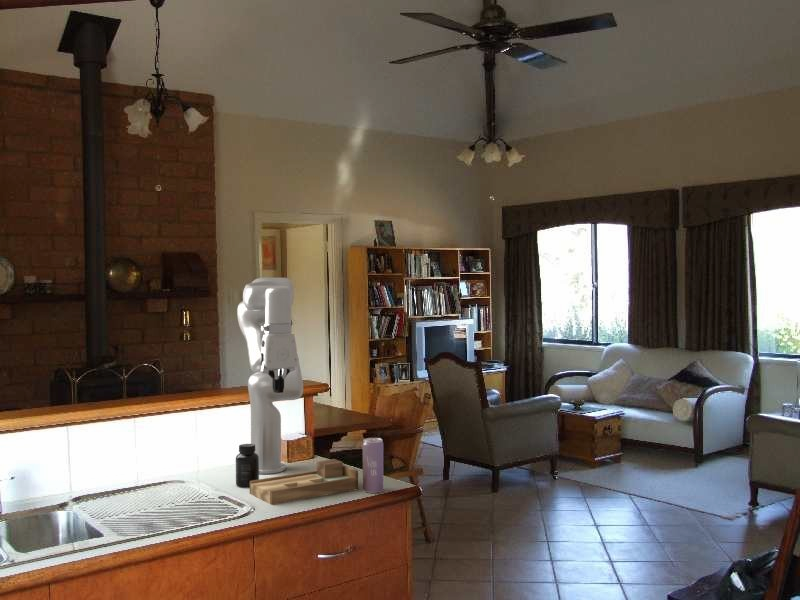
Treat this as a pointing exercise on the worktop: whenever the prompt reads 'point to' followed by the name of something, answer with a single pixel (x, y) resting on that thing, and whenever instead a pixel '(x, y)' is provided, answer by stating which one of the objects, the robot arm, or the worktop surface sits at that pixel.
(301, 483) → the trap trough
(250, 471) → the supplement bottle
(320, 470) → the walnut block
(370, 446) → the beverage can
